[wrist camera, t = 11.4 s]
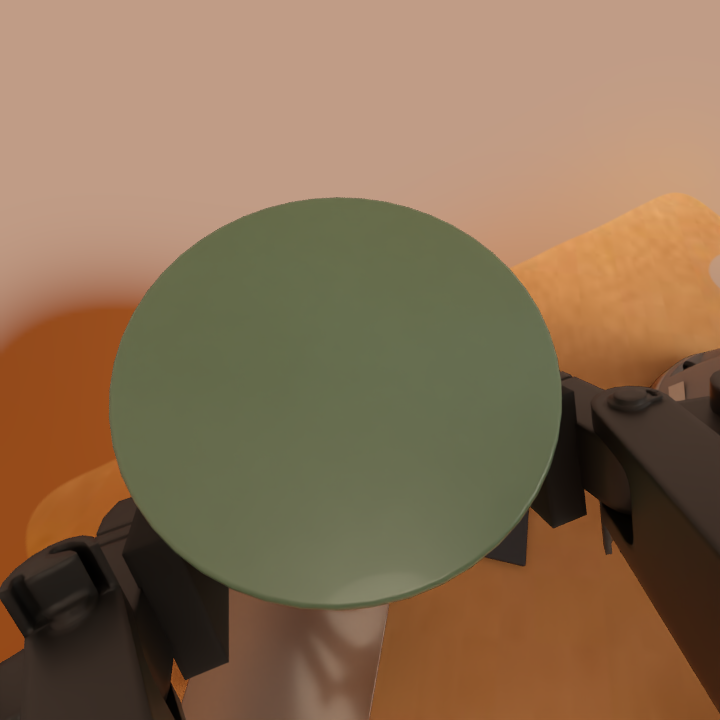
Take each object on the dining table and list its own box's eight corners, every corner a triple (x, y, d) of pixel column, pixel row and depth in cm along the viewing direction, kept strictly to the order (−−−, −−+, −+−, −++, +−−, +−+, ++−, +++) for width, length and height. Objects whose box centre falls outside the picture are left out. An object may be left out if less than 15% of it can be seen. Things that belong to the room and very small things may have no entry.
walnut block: (386, 577, 36) (395, 568, 29) (357, 740, 32) (359, 777, 25) (258, 546, 37) (236, 530, 30) (212, 701, 33) (173, 725, 25)
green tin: (463, 423, 17) (573, 234, 8) (429, 638, 14) (549, 680, 5) (279, 380, 18) (211, 166, 9) (209, 577, 15) (11, 530, 6)
